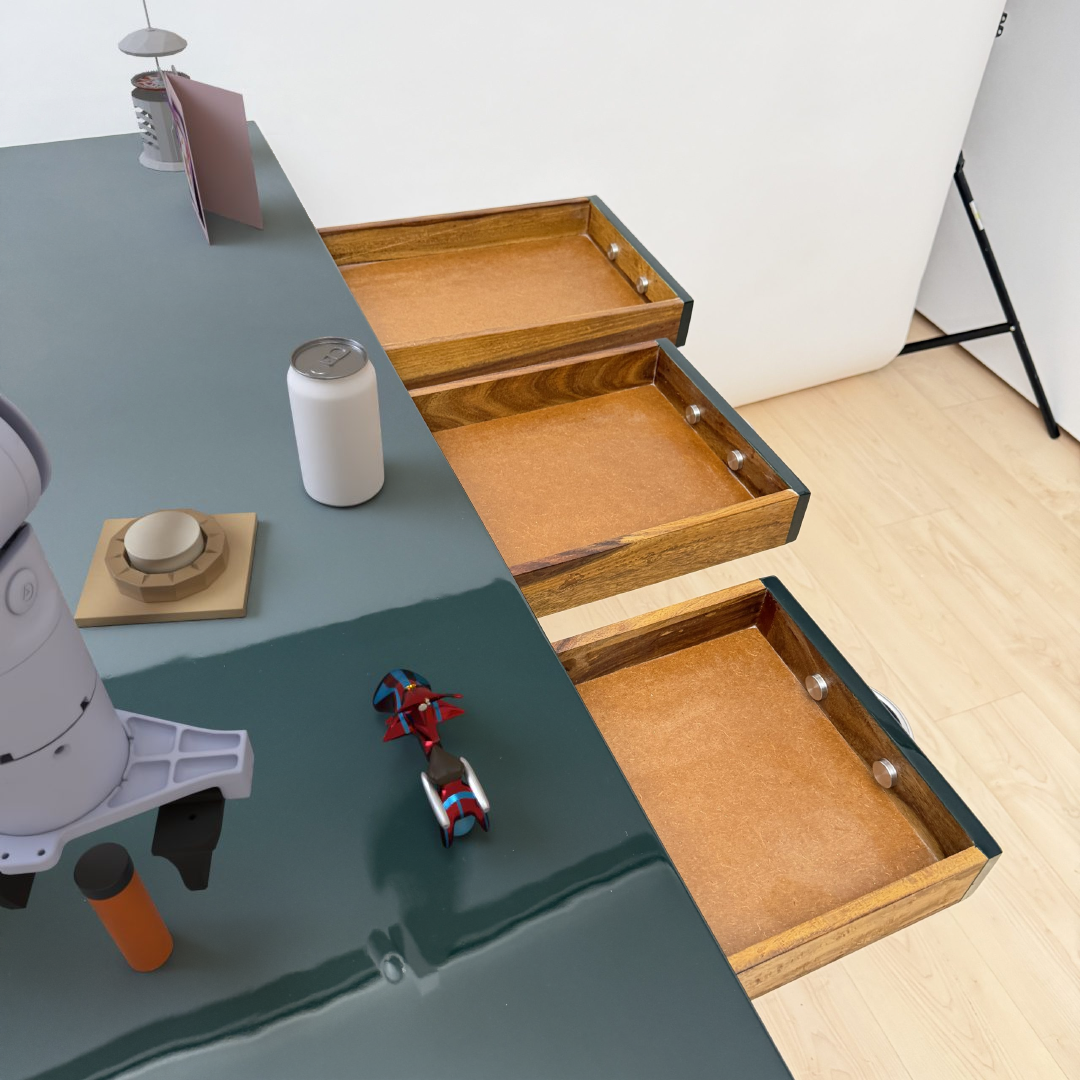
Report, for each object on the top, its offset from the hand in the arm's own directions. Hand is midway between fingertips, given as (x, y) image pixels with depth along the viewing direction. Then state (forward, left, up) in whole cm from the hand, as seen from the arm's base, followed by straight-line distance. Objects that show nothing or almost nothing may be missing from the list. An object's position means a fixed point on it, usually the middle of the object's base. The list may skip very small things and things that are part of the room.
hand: (114, 878), depth 41 cm
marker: (0, 0, -8) cm, 8 cm away
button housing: (-3, +27, -8) cm, 29 cm away
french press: (-14, +105, -8) cm, 107 cm away
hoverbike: (+14, +9, -8) cm, 19 cm away
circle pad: (-3, +27, -5) cm, 28 cm away
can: (+9, +36, -8) cm, 38 cm away
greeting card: (-6, +86, -8) cm, 87 cm away
